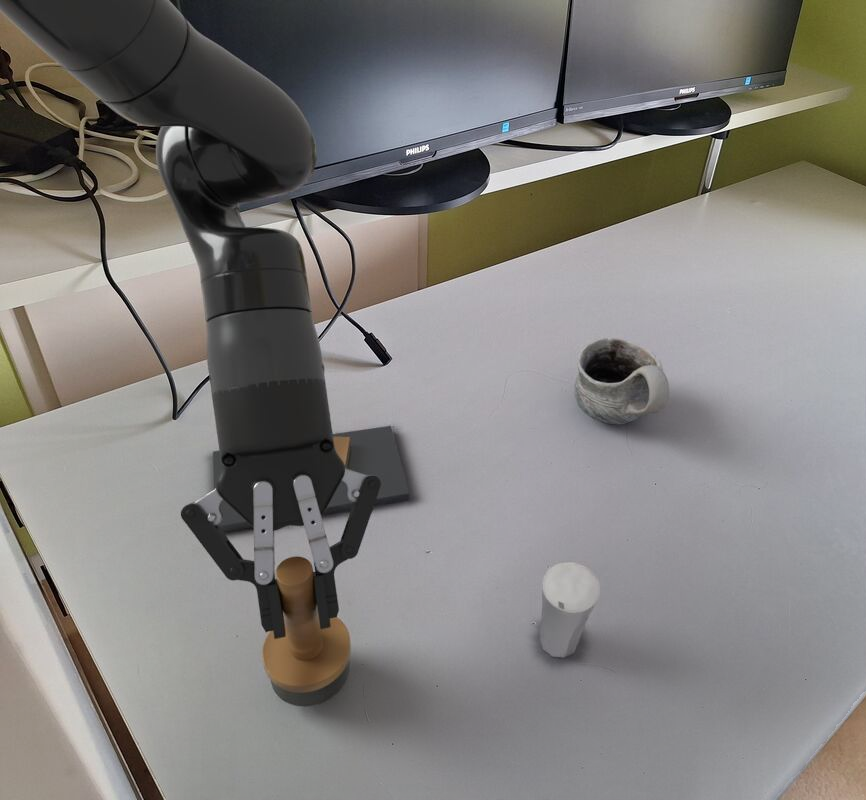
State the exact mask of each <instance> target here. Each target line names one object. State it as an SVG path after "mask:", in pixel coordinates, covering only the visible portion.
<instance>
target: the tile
mask: <svg viewBox="0 0 866 800" xmlns="http://www.w3.org/2000/svg"><path fill="white" fill-rule="evenodd" d="M333 437H350V441H351V447H350V453H349V458H348V464H347V469H349V470H352V471H355V472H358V473H361V474H365V475H375V476H377V477H378V478H379V479H380V482H381V486H380V489H379V492H378V495H377V498H376V501H375V504H374V507H376V506H381V505H387V504H392V503H398V502H404V501H409V500H410V490H409V488H408V484H407V479H406V476H405V471H404V469H403V465H402V461H401V457H400V454H399V450H398V447H397V443H396V440H395V439H396V438H395V436H394V432H393V428H392V426H391V425H385V426H379V427H373V428H371V427H370V428H365V429H357V430H351V431H344V432H338V433H333ZM212 469H213V470H212V472H213V473H212V476H213V479H212V480H213V490H214V489H216V480H217V478H218V475H219V473H220V469H221V458H220V451H219V450H214V451H212ZM346 491H347V486H346V484H345V483H344V482H343V481H341V482H340V484H339V486H338V488H337V490H336V492H335V494H334V495H333V497H332V499H331V501H330V503H329V505H328V507H327V508H326V510H325V512H324V514H323V515H322V516H324V515H329V514H335V513H341V512H347V511H351V508H352V506H353V503H354V502H352V501H350V500H349V499H348V498H347V495H346ZM220 508H221V511H222V513H223V519H222V521H221V522H220V523H219V524H218V526H219V527H220V529H221V530H222V531H223V533H227V532H233V531H238V530H244V529H249V528H253V527H252V526H251V525H249V524H248V523H247V522H246V521H245V520H244V519H243V518H242V517H241V516H240V515H239V514H238V513H237V512H236V511H235V510H234V509H233V508H232V507H231V506H230V505H229V504H228V503H227V502H225V501H224V500H223V501H222V503H221V506H220Z"/></svg>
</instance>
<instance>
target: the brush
mask: <svg viewBox="0 0 866 800" xmlns="http://www.w3.org/2000/svg"><path fill="white" fill-rule="evenodd" d="M313 567H314V566H313V564H312V562H311V561H310V560H309V559H307V558H306V557H303V556H290V557H287V558H285V559H283V560H282V561H281V562H280V563H279V564H278V565H277V567H276V569H275V579H277V583H278V588H279V593H280V598H281V603H282V609H283V615H284V622H285V631H286V635H285V637H283V638H278V639H275V638H274V632H273V631H269V632H268V634H267V636H266V637H265V640H264V642H263V646H262V651H261V658H262V663H263V667H264V670H265V673H266V675H267V677H268V678H269V680H270V684H271V686H272V689H273V691H274V693H275V694H276V696H277V697H278V698H279V699H280V700H281V701H283V702H285V703H286V704H289V705H292V706H296V707H314V706H318V705H321V704H323V703H325V702H327V701H329V700H331V699H332V698H333V697H335V696H336V695H337V694H338V693H339V692H340V691H341V690H342V688H343V687H344V685H345V684H346V682H347V680H348V677H349V675H350V671H351V662H350V661H351V660H350V657H351V653H352V646H351V645H352V644H351V637H350V636H351V635H350V633H349V629H348V627H347V626H346V624H345V623H344V622H343V620H342V619H340V618H339V617H338V616H337V617H335V618H330V625H331V627H329V628H325V629H320V622H319V615H318V608H317V600H316V593H315V586H314V579H313V576H314V574H313V572H314V568H313Z"/></svg>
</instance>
